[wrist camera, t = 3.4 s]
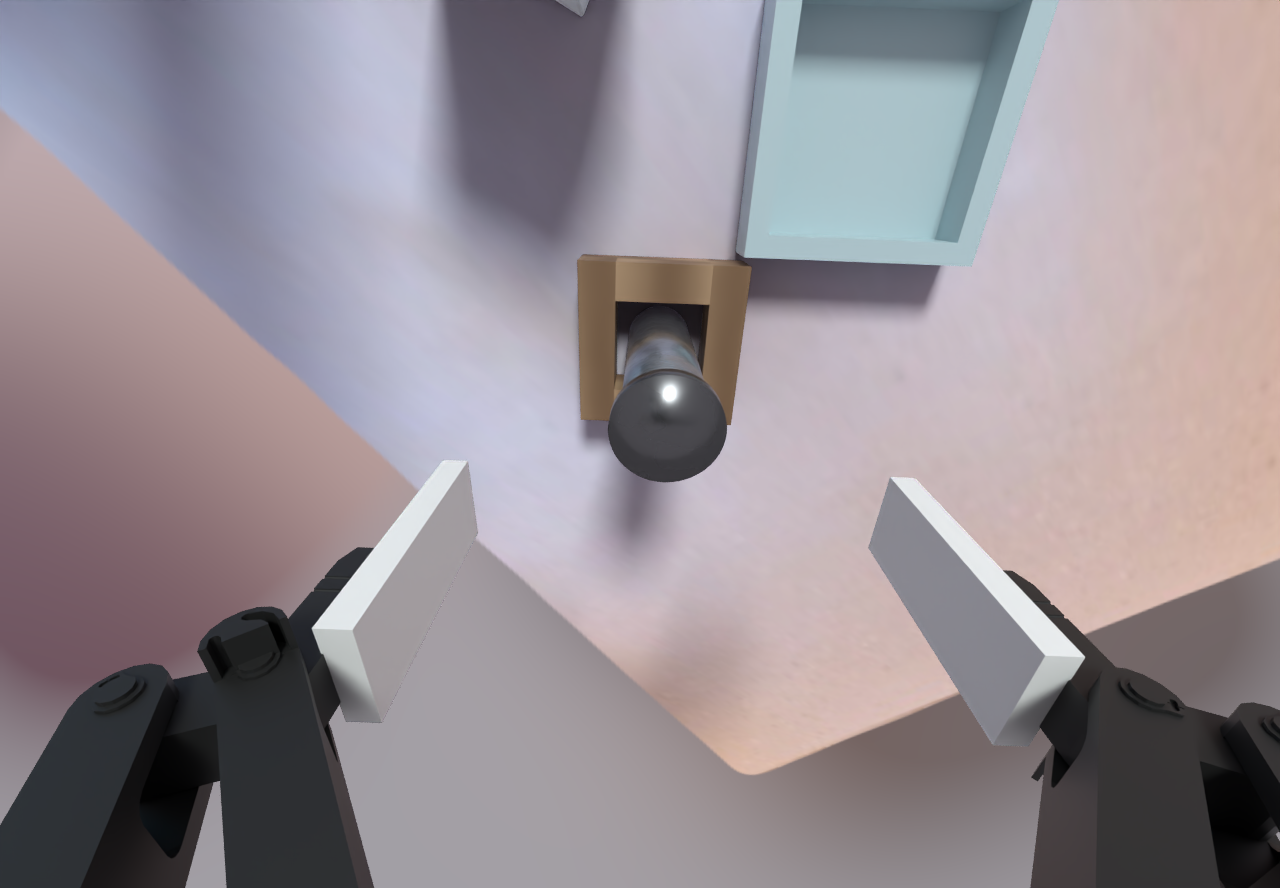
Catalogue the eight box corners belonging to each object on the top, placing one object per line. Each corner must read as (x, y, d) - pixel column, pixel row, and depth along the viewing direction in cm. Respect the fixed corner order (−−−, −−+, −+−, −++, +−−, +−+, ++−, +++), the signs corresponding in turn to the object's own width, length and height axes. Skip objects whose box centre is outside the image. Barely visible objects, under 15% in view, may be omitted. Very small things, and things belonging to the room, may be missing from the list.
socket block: (585, 402, 35) (580, 419, 33) (583, 254, 31) (577, 260, 28) (724, 407, 35) (730, 425, 33) (742, 260, 31) (751, 267, 28)
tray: (735, 251, 30) (744, 257, 28) (768, -25, 25) (783, -52, 22) (943, 260, 31) (971, 266, 28) (1025, -14, 25) (1071, -39, 22)
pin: (622, 369, 34) (607, 480, 21) (623, 298, 32) (608, 372, 19) (691, 371, 34) (719, 483, 21) (697, 301, 32) (733, 377, 19)
